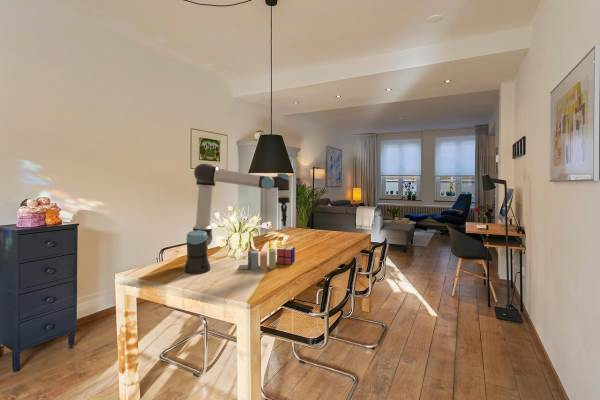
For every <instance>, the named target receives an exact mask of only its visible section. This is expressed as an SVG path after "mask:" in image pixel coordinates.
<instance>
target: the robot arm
mask: <svg viewBox="0 0 600 400" xmlns="http://www.w3.org/2000/svg"><path fill="white" fill-rule="evenodd" d="M193 171H194V172H193V175H194V178H195V180H196V186H197V188H198V189H197V190H198V191H197V206H196V216H195V217H196V219H195V224H194V226H192V231H189V232H188V233H187V234H186V252H187V253H186V255H187V256H186V259H185V260H186V261H185V264H184V267H183V268H184V269H183V272H184V273H186V274H191V275H192V274H193V275H195V274H203V273H208V272H209V271H211V264H210V261H209V257H208V247H209V246H210V245H211V243H212V241H213V234H212V232H213V231H212V230H213V228H212V226H211V215H212V214H211V212H212V202H213V201H212V200H213V190H214V189H213V188H215V186H216V183H225V184H231V185H238V186H246V187H250V188H251V187H252V188H259V189H264V190H271V189H277V197H278V198H277V203H278V204H281V205H280V211H281V220H280V221H281V222H282V223H281V224H282V225H281V226H282V230H281V231H282V232H287V231H288V230H287V229H288V227H287V226H288V223H287V222H288V221H287V218H288V216H287V212H288V209H287V208H288V205H287V204H289V203H290V194H291V191H290V174H289V173H284V172H281V173H277V175H276V176H269V175H260V174H254V173H247V172H241V171H234V170H226V169H220V168H219V167H217V166H214V165H212V164H209V163H200V164H198V165H197V166H195V168H194V170H193Z"/></svg>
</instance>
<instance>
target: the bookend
mask: <svg viewBox="0 0 600 400" xmlns="http://www.w3.org/2000/svg"><path fill="white" fill-rule="evenodd" d="M251 252H252V248H248V250H247V264H239V265H238V269H237V270H238V271H239V270H244V271H245V270H250V271H251V270H252V269H251Z"/></svg>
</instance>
